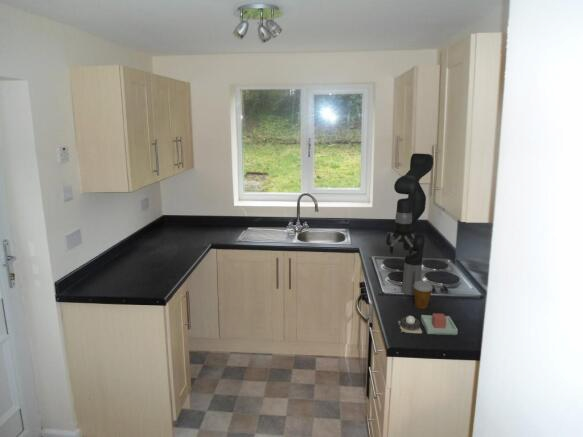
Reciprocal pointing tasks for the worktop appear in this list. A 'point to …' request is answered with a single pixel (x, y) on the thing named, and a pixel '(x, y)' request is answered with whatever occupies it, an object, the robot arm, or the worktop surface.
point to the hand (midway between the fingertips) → (400, 253)
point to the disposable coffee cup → (422, 294)
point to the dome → (410, 320)
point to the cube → (439, 321)
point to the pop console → (409, 326)
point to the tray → (430, 329)
